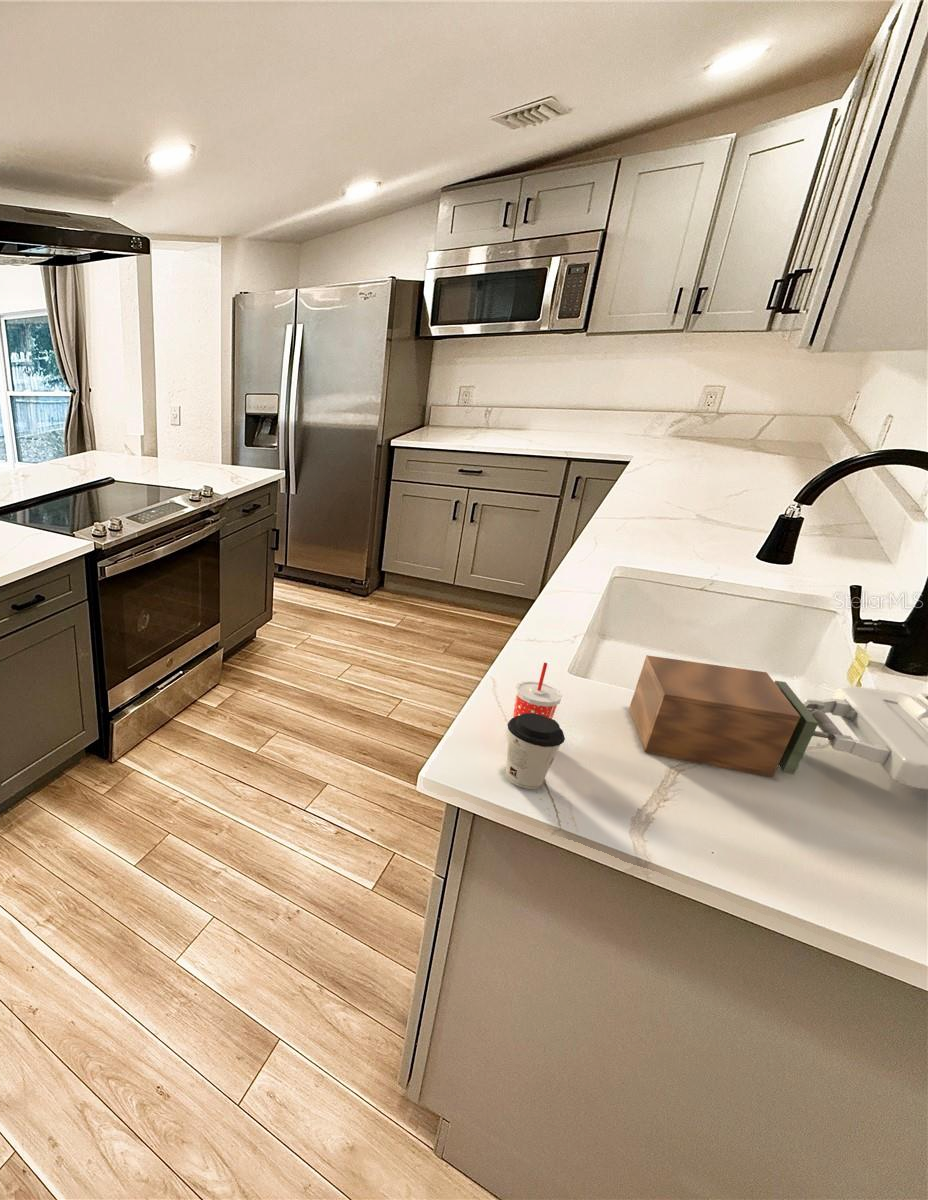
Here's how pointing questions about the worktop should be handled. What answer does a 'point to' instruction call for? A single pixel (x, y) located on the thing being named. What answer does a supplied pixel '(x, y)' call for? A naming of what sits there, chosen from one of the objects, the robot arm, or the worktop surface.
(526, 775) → the coffee cup
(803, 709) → the drawer
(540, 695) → the beverage cup
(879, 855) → the worktop surface
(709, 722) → the cabinet
